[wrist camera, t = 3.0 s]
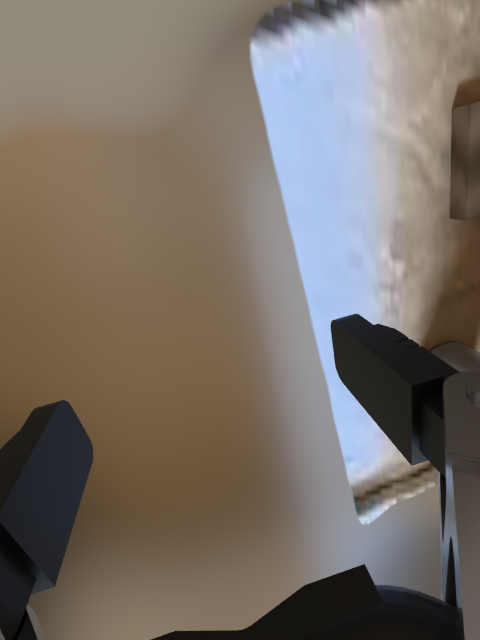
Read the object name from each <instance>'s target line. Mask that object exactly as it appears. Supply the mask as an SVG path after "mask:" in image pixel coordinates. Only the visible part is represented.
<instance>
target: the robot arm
mask: <svg viewBox="0 0 480 640" xmlns="http://www.w3.org/2000/svg"><path fill="white" fill-rule="evenodd" d="M331 334H332V342H333V350H334V359H335V366H336V370H337V372H338V375H339V377H340V379H341V381H342V382H343V384H344V385H345V386H346V387H347V389H348V390H349V391H350V392H351V393H352V395H353V396H354V397H355V398H356V399H357V401H358V402H359V403H360V404H361V405H362V407H363V408H364V409H365V410H366V411H367V413H368V414H369V415H370V416H371V417H372V419H373V420H374V421H375V422H376V423H377V425H378V426H379V427H380V428H381V429H382V431H383V432H384V433H385V434H386V435H387V437H388V438H389V439H390V440H391V441H392V443H393V444H394V445H395V446H396V447H397V449H398V450H399V451H400V452H401V453H402V455H403V456H404V457H405V458H406V459H407V461H408V462H409V463H410V464H411V465H415V464H418V463H421V462H424V461H427V460H429V461H430V462H431V464H432V465H433V466H434V467H435V468H436V469H437V470H438V471H439V505H440V533H441V600H440V599H438V598H435V597H433V596H430V595H427V594H425V593H422V592H419V591H415V590H412V589H407V588H404V587H398V586H390V585H374V582H373V580H372V579H371V576H370V574H369V572H368V570H367V568H366V566H365V565H361V566H358V567H355V568H352V569H350V570H347V571H344V572H341V573H338V574H336V575H332V576H330V577H327V578H324V579H321V580H318V581H315V582H313V583H310V584H307V585H305V586H303V587H302V588H301V589H299V590H298V591H296V592H295V593H294V594H292V595H291V596H290V597H288V598H287V599H286V600H285V601H283V602H282V603H280V604H279V605H278V606H276V607H275V608H274V609H272V610H271V611H270V612H269V613H267V614H266V615H265V616H263V617H262V618H260V619H259V620H258V621H256V622H255V623H254V624H253V625H251V626H249V627H248V628H246V629H243V630H237V631H174V632H171V633H168V634H165V635H163V636H160V637H157V638H154V639H151V640H480V352H478V351H476V350H474V349H472V348H470V347H468V346H467V345H465V344H463V343H459V342H449V343H445V344H442V345H440V346H438V347H436V348H434V349H433V350H431V351H430V352H429V351H428V350H426V349H425V348H423V347H422V346H421V347H419V344H417V343H416V342H414V341H413V340H411V339H410V340H409V339H408V337H407V336H405V335H404V334H402V333H401V332H399V331H398V330H396V329H394V328H390V327H387V326H384V325H381V324H376V325H373V324H371V323H370V322H368V321H367V320H366V319H364V318H363V317H362V316H360V315H359V314H353V315H349V316H346V317H343V318H339V319H336V320H333V321H332V322H331ZM92 461H93V448H92V443H91V440H90V438H89V436H88V435H87V433H86V431H85V429H84V428H83V426H82V424H81V422H80V421H79V419H78V417H77V415H76V414H75V412H74V410H73V408H72V407H71V405H70V404H69V403H68V402H67V401H65V400H61V401H58V402H55V403H51V404H48V405H44V406H41V407H38V408H35V409H34V410H33V411H32V412H31V414H30V416H29V417H28V419H27V420H26V422H25V423H24V425H23V427H22V428H21V430H20V431H19V432H18V433H17V434H16V435H14V436H13V437H12V438H11V439H10V440H9V441H8V442H7V443H6V444H5V445H4V446H3V447H2V448H1V450H0V640H45V637H44V634H43V632H42V630H41V627H40V624H39V622H38V619H37V617H36V614H35V612H34V611H33V610H32V609H31V608H30V606H29V605H28V601H29V598H30V595H31V594H34V593H37V592H40V591H43V590H45V589H49V588H52V587H55V584H56V581H57V578H58V574H59V571H60V567H61V564H62V561H63V558H64V555H65V551H66V548H67V545H68V541H69V538H70V535H71V531H72V528H73V525H74V521H75V518H76V514H77V511H78V508H79V505H80V501H81V498H82V495H83V491H84V488H85V484H86V481H87V478H88V475H89V471H90V468H91V465H92Z"/></svg>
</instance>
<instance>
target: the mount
mask: <svg viewBox="0 0 480 640" xmlns="http://www.w3.org/2000/svg"><path fill="white" fill-rule="evenodd" d="M478 216H480V100H479V101H475V102H472V103H469V104H466V105H463V106H459V107H456V108H453V109H452V153H451V207H450V218H452V219H459V220H469V219H472V218H475V217H478Z"/></svg>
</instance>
